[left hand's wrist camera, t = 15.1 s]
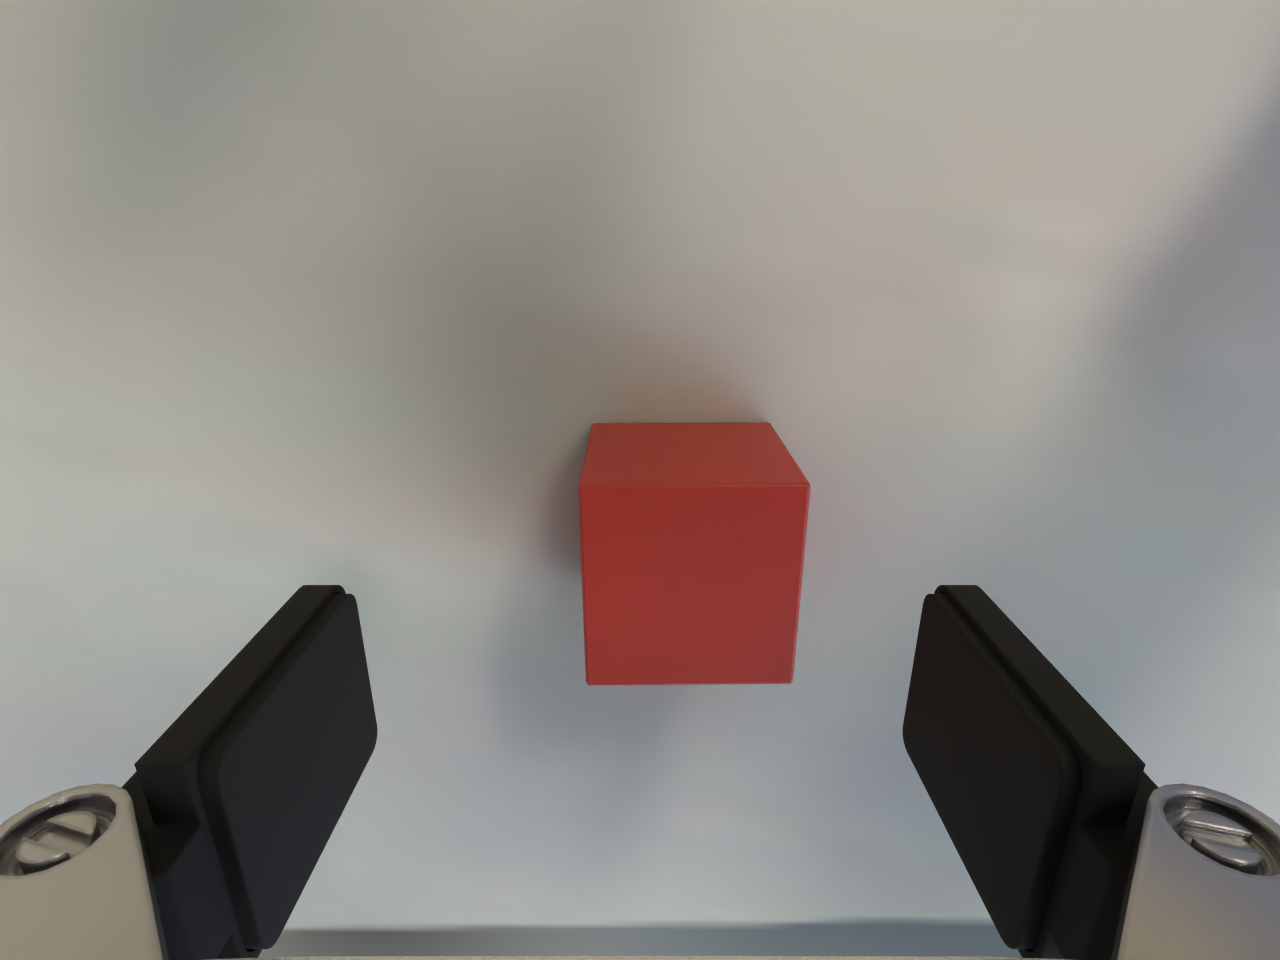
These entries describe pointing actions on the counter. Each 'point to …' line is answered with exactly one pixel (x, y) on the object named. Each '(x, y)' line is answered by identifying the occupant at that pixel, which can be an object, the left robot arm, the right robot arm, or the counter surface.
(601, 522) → the cube
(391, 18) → the counter surface
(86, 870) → the left robot arm
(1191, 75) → the counter surface
